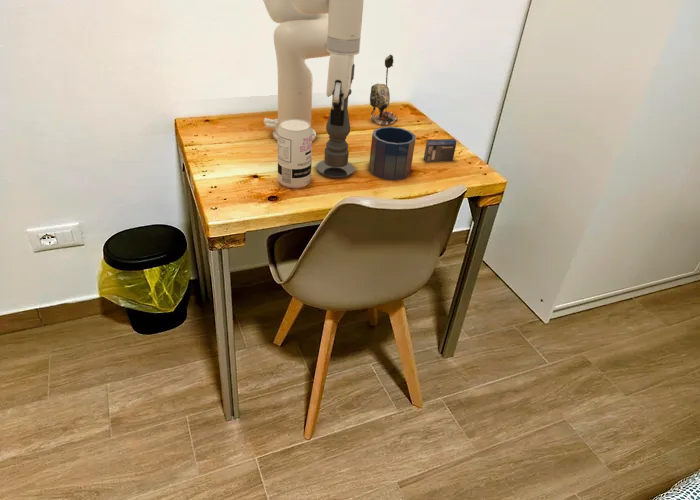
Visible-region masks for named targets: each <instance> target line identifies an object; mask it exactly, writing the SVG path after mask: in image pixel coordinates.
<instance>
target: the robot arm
mask: <svg viewBox="0 0 700 500" xmlns="http://www.w3.org/2000/svg"><path fill="white" fill-rule="evenodd" d="M262 1H263V4H264V6H265V8H266V11H267V13H268V16H269V17H270V19H271V21H273V22H274V23H276V24H278V25H277V26H276V27H275V29H274V32H273V46H274V51H275V56H276V66H277V118H273V119H272V118H268V117H264V118H263V125H264V126H265V128H266V129H272V137H273V139H274V140H275V141H277V142H278V139H277V129H278V127H279V126H280V123H281V122H282V121H284V120H287V119H300V120H304V121H307V122H308V123H309V124H310V127H311V129H312V132H313V133H312V142H314V141H315V140H316V138H317V132H316V130H315V129H314V128H312V115H313V113H312V112H313V111H312V110H313V84H314V83H313V81H314V80H313V79H314V78H313V74H312V71H311V69H310V67H309V66H308V65H307V64H306V60H309V59H317V58H324V57H329V60H328V67H327V68H328V69H327V82H326V93H325V94H326V97H327V98H330V97H331V96H332V100H331V108H330V111H331V120H330V124H331V125H336V126H343V125H344V112H345V110H343V109H344V99H345V98H346V97H347V96H348V93H349V90H350V89H351V88H352V84H353V82H352V83H351V74H352V66H353V64H354V65H355V56H356V55H359V54H360V50H361V40H362V39H361V38H362V37H361V36H362V26H363V13H364V0H262ZM350 83H351V84H350ZM332 93H333V95H332ZM340 94H343V97H340ZM348 97H349V96H348ZM339 99H341V100H342V102H340V100H339Z"/></svg>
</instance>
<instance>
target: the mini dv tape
mask: <svg viewBox="0 0 700 500" xmlns="http://www.w3.org/2000/svg"><path fill="white" fill-rule="evenodd" d="M456 147H457V140H456V139H455V138H439V139H438V138H437V139H426V143H425V149H424V155H423V161H424V162H425V163H436V162H437V163H438V162H439V163H440V162H453V161H454V156H455V151H456Z"/></svg>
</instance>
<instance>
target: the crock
mask: <svg viewBox="0 0 700 500" xmlns="http://www.w3.org/2000/svg"><path fill="white" fill-rule="evenodd" d="M416 137H417V135H416V134H415V133H414V132H412V131H410V130H409V129H405V128H403V127H398V126H381V127H377V128H375V129H373V131H372V135H371V143H370V153H369V162H368V171H369V172H370V174H371V175H373V176H374V177H377V178H379V179H382V180H387V181H401V180H405V179H407V178H408V177H410V176H411V170H412V165H413V159H414V158H413V157H414V152H415V151H414V150H415V144H416Z"/></svg>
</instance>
